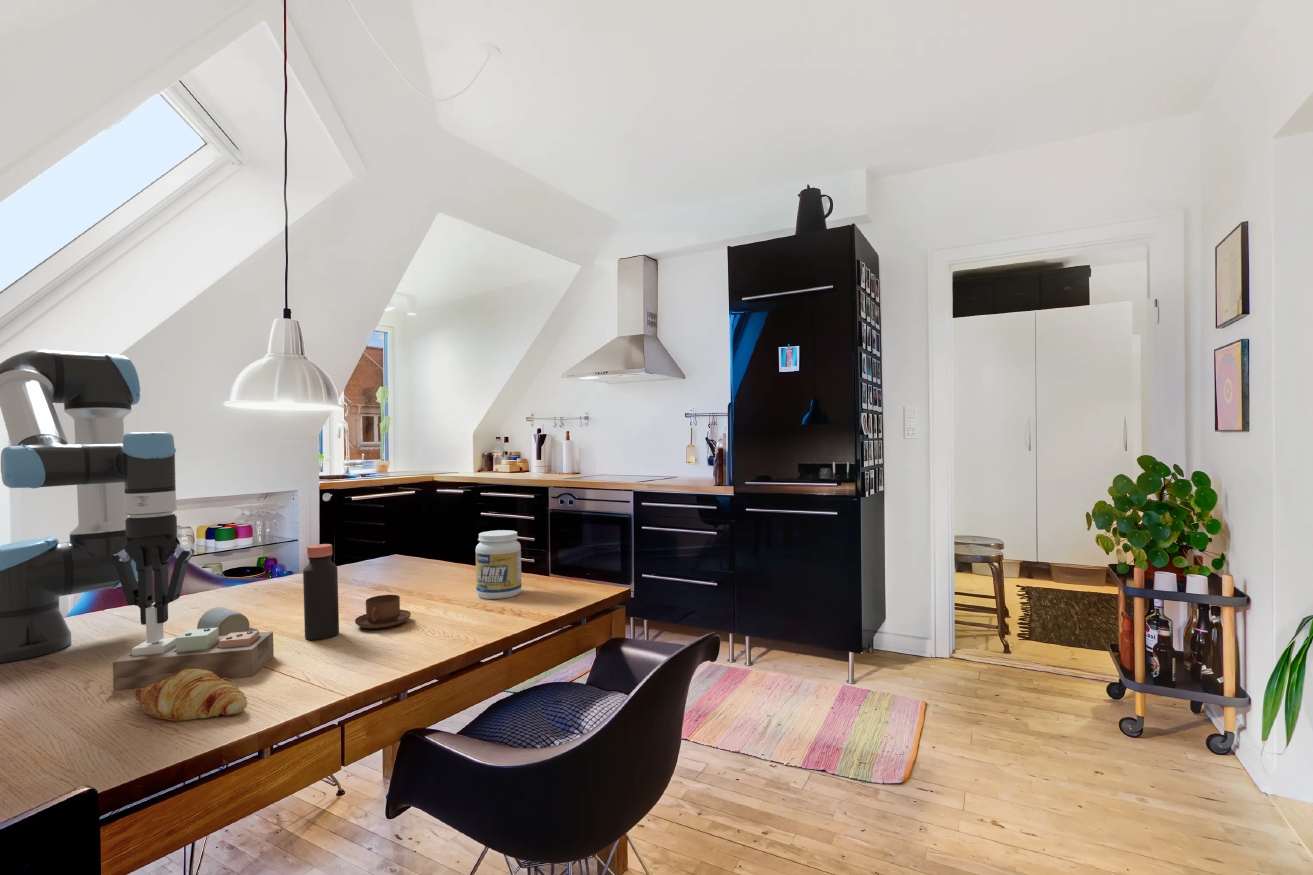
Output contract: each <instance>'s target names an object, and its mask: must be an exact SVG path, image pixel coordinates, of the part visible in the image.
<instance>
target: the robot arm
mask: <svg viewBox="0 0 1313 875" xmlns="http://www.w3.org/2000/svg"><path fill="white" fill-rule="evenodd" d="M140 392H141V383H140V380H139V374H138V372H137V369H136V366H135V365H134V363H133V362H132V360H131V359H130V358H128V357H127V356H125V355H120V354H111V353H107V352H86V351H85V352H84V351H65V350H51V349H50V350H49V349H37V350H36V349H35V350H29V351H24V352H21V353H17V354H15V355H13V356H10V357H8V358H6V359H5V360H4V361H2V362H1V363H0V411H1V415H2V418H3V421H4V423H5V424H4V425H5V429H6V431H7V435H8V438H9V442H10V446H5V447H3V448H2V450H1V452H0V475H1V481H2V484H3V485H4V486H6V487H7V488H9V489H24V488H25V489H26V488H28V489H39V488H48V487H50V488H51V487H64V486H66V487H67V486H76V492H77V493H76V494H77V498H76V499H77V517H78V518H77V521H78V522H77V523H78V524H77V526H76V527H75V528H74V529H72V531H70V532H69V541H67V542H66V541H64V542H59V539H58V538H57V537H56V536H44V537H40V538H39V537H37V538H32V539H25V540H20V541H15V542H11V543H10V542H9V543H6V544H2V545H0V664H1V663H9V662H16V661H21V660H26V659H30V658H35V657H40V656H43V655H47V654H50V653H53V652H57V651H59V650H62V649H64V648H66V647H68V646H70V645H71V644H72V633H71V630H70V628H69V626H68V624H67V622H66V620H65V618H64V615H63V613H62V612H61V610H60V597H62V596H70V595H77V594H82V593H90V592H95V591H101V590H102V591H103V590H109V589H116V588H120V587H121V588H122V591H123V594H124V598H125V601H126V603H127V605H128V606H134V607H135V606H136V607H138V608H139V611H140V612H139V613H140V624H141V626H142V625H144V626H145V627H146V628H145V634H146V636H145V637H146V640H147V643H156V642H158V641H160V640H161V639H165V638H164V623H166V622H167V621H168V619H169V604H170V603H172V602H175V601H176V600H178V599H179V598H180V597H181V593H182V589H183V584H184V580H185V577H186V572H187V568H188V564H189V561H190V559H191V558H192V557H193V555H194V554H195V550H194V549H193V548H187V547H185V546H183V545H181V543H180V540H179V539H178V535H177V533H178V520H177V519H178V517H177V515H176V514H175V513H173V512H175V511H177V510H178V509H177V508H178V507H177V506H178V505H177V493H176V486H177V485H176V484H177V483H176V452H177V448H175V438H174V435H173V434H172V433H171V432H166V431H165V432H164V431H159V432H157V431H151V432H150V431H148V432H146V431H145V432H141V431H140V432H128V433H126V434H125V426H124V424H125V422H124V419H125V418H126V417H127V416H128V415H129V414H131V412H132V406H135V405H137V404H139V402H140V400H141V395H140V394H141V393H140ZM54 404H63V409H64V413H66V414H67V415H68V416H70V417H71V418H72V419H73V421H74V422H73V426H74V444H69V442H68V439H67V436H66V434H65V432H64V429H63V427H62V425H61V421H60V419H59V417H58V413H57V411H56V408H55V406H54ZM174 555H175V558H176V560H175V562H174V565H173V568H172V573H171V577H170V581H169V567H170V560H171V558H172V557H173V556H174ZM153 582H154V583H153Z"/></svg>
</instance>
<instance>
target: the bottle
mask: <svg viewBox="0 0 1313 875" xmlns="http://www.w3.org/2000/svg"><path fill="white" fill-rule="evenodd" d="M306 549H307V550H306V554H307V560H309V561H308V564H306V566H305V567H304V568H303V570H302V576H303V577H302V581H303V585H302V586H303V614H304V615H303V618H304V619H303V622H304V639H306V640H309V641H321V640H327V639H330V638H333V637H335V636H337V635H338V634H339V633H340V620H339V618H340V616H339V614H340V613H339V580H338V579H339V577H338V575H339V574H338V573H339V572H338V566H337V565H336V564H335V563H334V562H333V561H332V557H333V544H331V543H321V544H313V545H309V546H307V547H306Z"/></svg>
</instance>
